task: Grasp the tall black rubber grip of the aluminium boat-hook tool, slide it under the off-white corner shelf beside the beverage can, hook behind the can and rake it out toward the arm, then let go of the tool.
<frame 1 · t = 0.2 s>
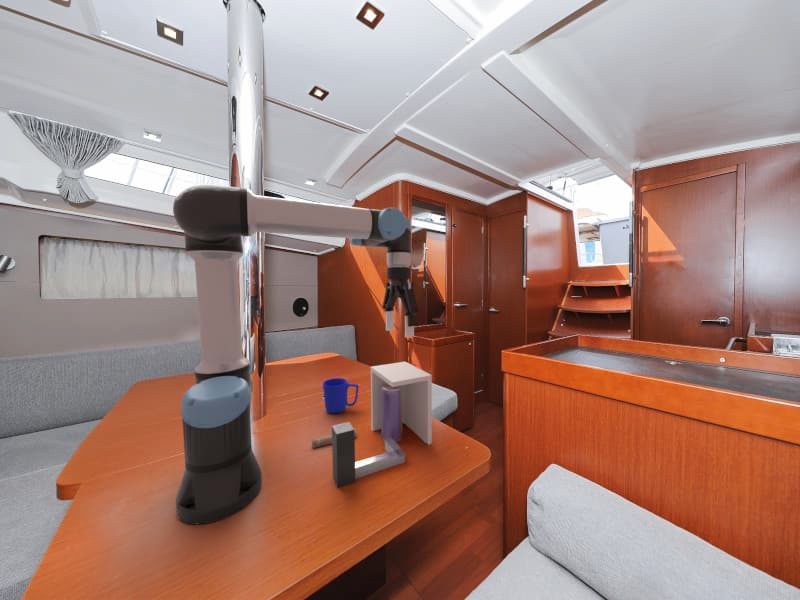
hand: (399, 333, 91), 28 cm above the table, fingers open, 13 cm apart
corner shelf: (400, 436, 82), on the table
mug: (341, 410, 99), on the table
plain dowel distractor: (334, 441, 79), on the table, tilted 9°
boat hook tool: (344, 479, 64), on the table
beverage can: (391, 438, 81), on the table
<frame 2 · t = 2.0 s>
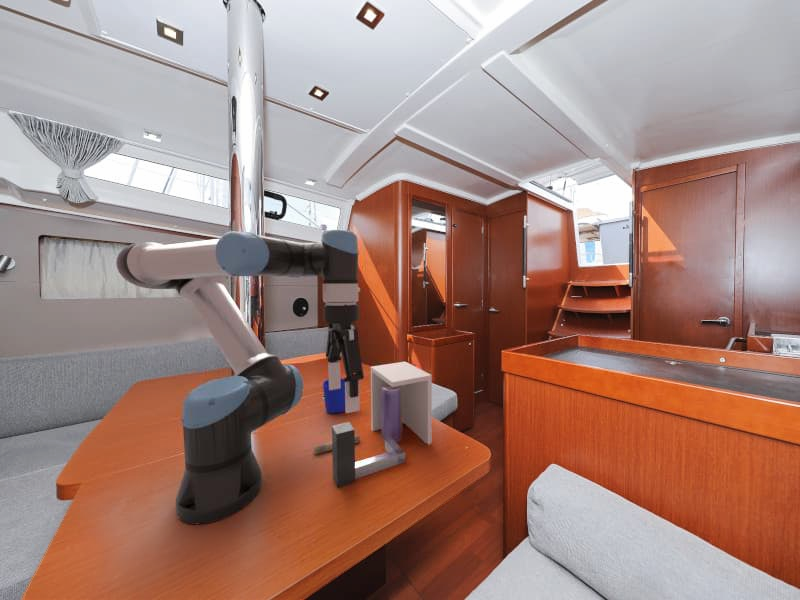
hand: (342, 399, 63), 18 cm above the table, fingers open, 13 cm apart
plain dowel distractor: (338, 443, 76), point 1 cm above the table, tilted 137°
everything else where it was.
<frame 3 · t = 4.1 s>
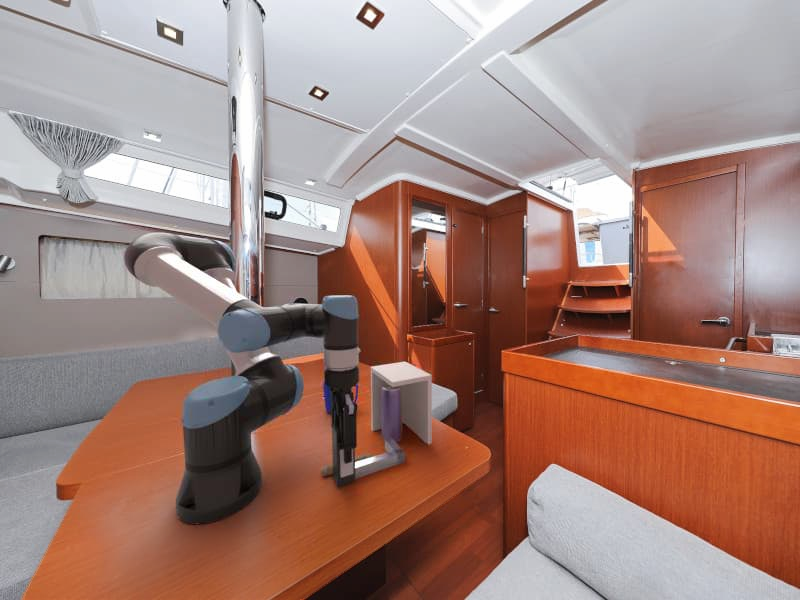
hand: (343, 468, 64), 3 cm above the table, fingers closed on boat hook tool, 4 cm apart
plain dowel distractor: (346, 459, 69), point 1 cm above the table, tilted 139°
boat hook tool: (344, 479, 64), on the table, touching gripper
everything else where it was.
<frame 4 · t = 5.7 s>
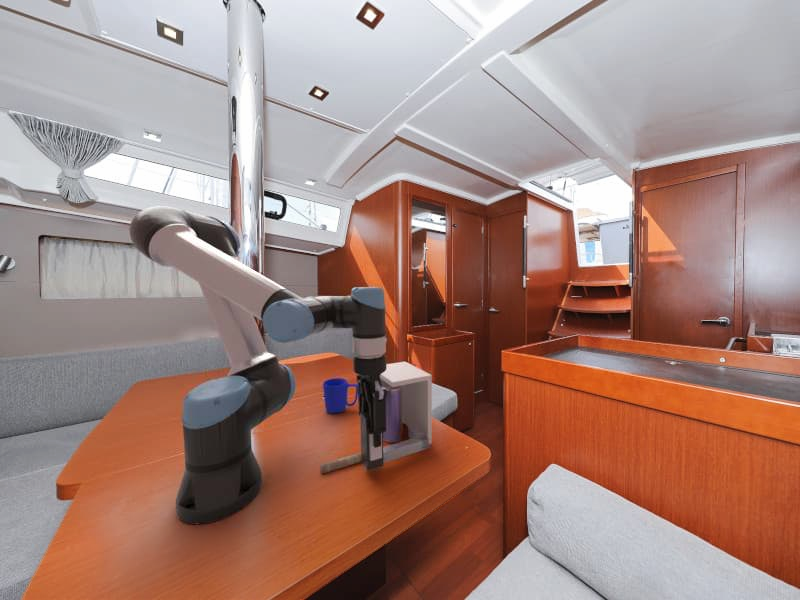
hand: (372, 452, 66), 4 cm above the table, fingers closed on boat hook tool, 4 cm apart
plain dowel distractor: (345, 461, 70), on the table, tilted 64°
boat hook tool: (372, 463, 66), point 2 cm above the table, touching gripper
everything else where it was.
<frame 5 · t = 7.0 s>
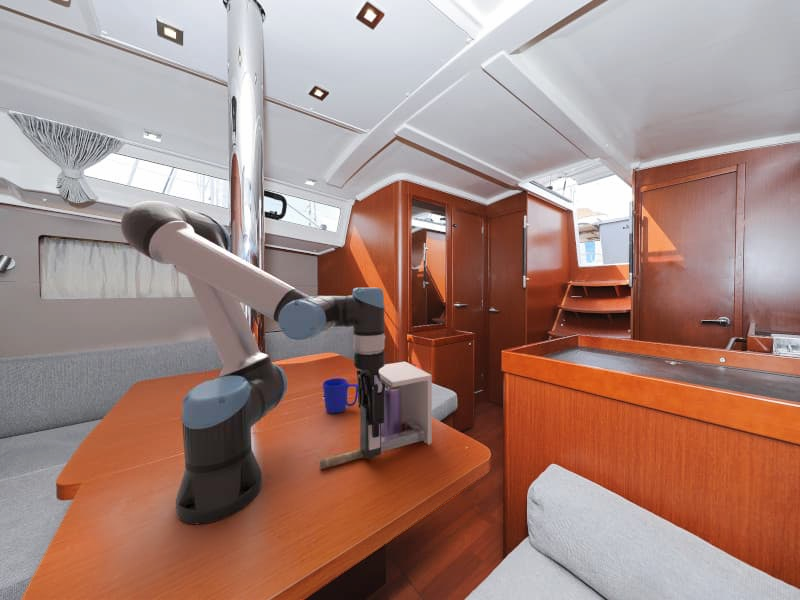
hand: (370, 443, 71), 4 cm above the table, fingers closed on boat hook tool, 4 cm apart
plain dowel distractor: (345, 461, 70), on the table, touching boat hook tool
boat hook tool: (370, 452, 71), point 2 cm above the table, touching gripper, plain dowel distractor
everything else where it was.
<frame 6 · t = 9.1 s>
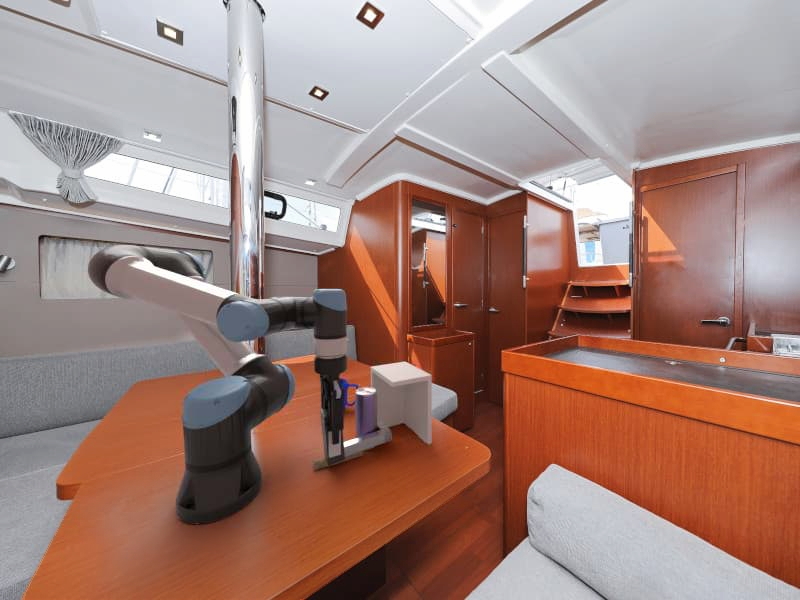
hand: (332, 449, 68), 4 cm above the table, fingers closed on boat hook tool, 4 cm apart
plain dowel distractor: (339, 462, 70), on the table, tilted 64°
boat hook tool: (334, 457, 69), point 2 cm above the table, touching gripper
beverage can: (366, 445, 78), on the table
everything else where it was.
when the fingers open (4 cm above the table, at t = 9.6 s): boat hook tool drops 1 cm, resting on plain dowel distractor.
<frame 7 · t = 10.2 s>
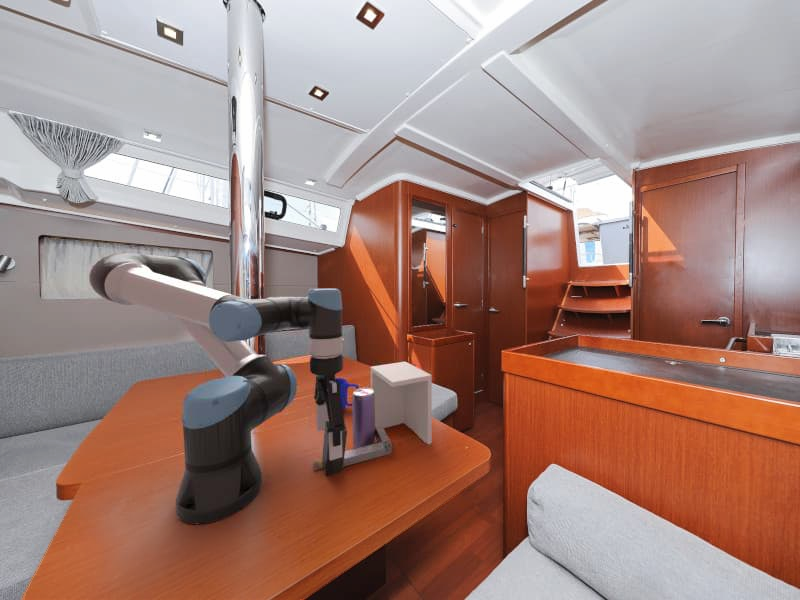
hand: (328, 442, 68), 6 cm above the table, fingers open, 13 cm apart
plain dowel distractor: (338, 464, 70), on the table, tilted 15°, touching boat hook tool
boat hook tool: (332, 465, 68), point 1 cm above the table, tilted 18°, touching gripper, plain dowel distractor
beverage can: (364, 446, 77), on the table
everything else where it was.
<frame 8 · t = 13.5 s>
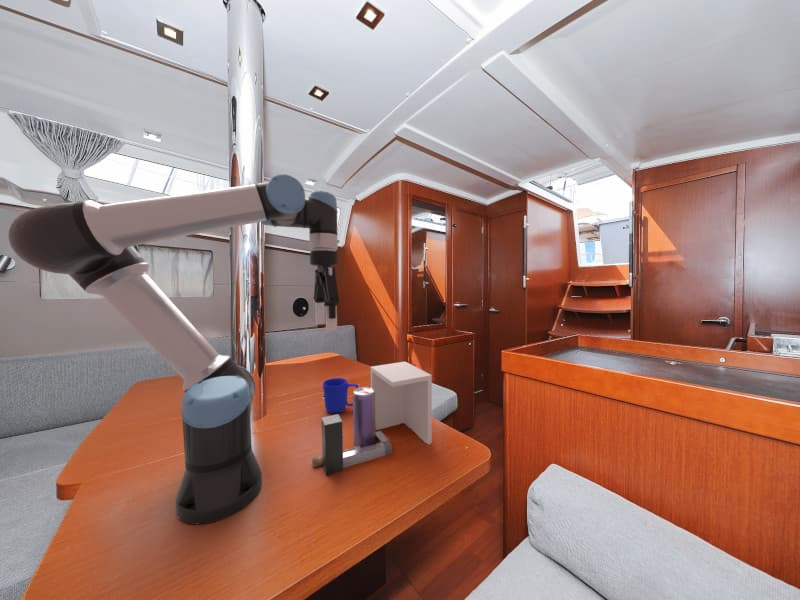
hand: (325, 327, 80), 32 cm above the table, fingers open, 13 cm apart
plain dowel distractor: (337, 460, 71), on the table, tilted 11°
boat hook tool: (332, 468, 68), on the table
at the end: beverage can inside the target area (1.8 cm from its centre), on the table; beverage can tilted 0° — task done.
